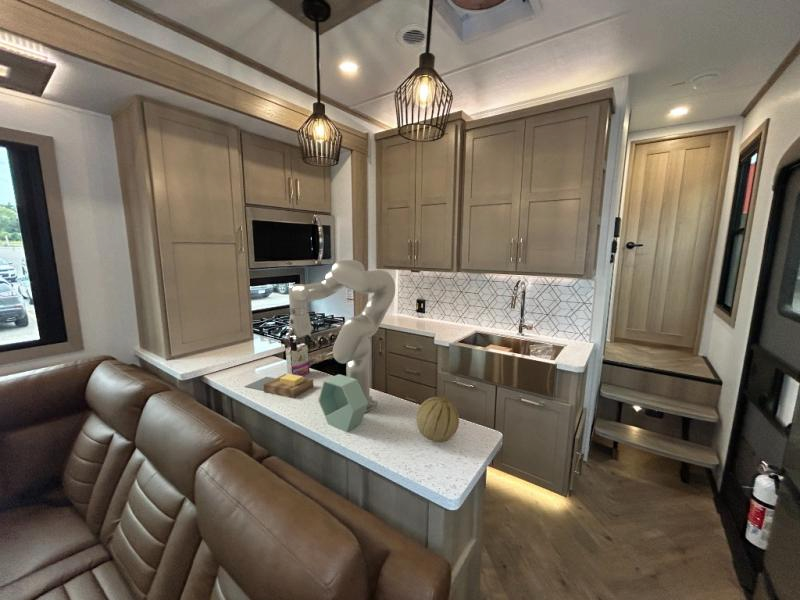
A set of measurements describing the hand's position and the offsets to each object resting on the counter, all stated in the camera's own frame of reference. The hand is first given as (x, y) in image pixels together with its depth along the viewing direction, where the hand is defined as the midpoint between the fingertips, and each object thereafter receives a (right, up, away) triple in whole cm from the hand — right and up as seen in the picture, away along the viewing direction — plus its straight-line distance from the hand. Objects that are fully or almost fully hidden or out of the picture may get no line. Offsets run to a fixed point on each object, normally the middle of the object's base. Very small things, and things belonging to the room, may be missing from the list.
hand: (301, 347), depth 151 cm
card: (-6, -17, +6) cm, 19 cm away
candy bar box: (-9, -19, +26) cm, 34 cm away
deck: (-8, -21, +7) cm, 24 cm away
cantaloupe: (+59, -27, -36) cm, 74 cm away
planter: (+24, -26, -25) cm, 43 cm away
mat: (-22, -20, +15) cm, 34 cm away
